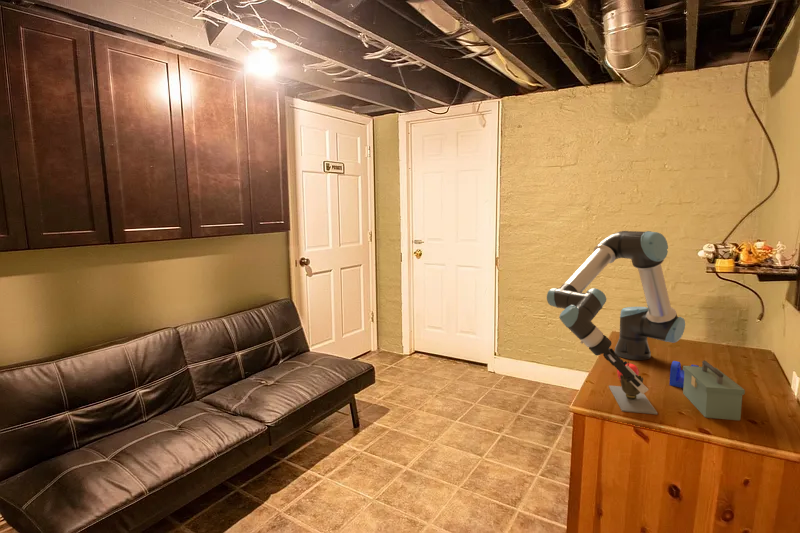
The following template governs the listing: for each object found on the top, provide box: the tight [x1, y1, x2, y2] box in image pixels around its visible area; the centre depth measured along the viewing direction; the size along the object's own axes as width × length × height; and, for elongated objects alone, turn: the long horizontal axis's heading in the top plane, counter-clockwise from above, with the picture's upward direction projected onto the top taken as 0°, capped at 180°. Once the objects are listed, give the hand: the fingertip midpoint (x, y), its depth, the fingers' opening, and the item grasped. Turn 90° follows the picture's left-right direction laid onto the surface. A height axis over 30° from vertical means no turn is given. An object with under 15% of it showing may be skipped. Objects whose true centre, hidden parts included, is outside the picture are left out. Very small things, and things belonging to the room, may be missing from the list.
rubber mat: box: [608, 385, 659, 415], centre depth 161 cm, size 22×11×1 cm, turn 166°
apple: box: [616, 361, 640, 381], centre depth 178 cm, size 8×8×8 cm
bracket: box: [669, 360, 700, 389], centre depth 176 cm, size 18×8×9 cm, turn 136°
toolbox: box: [682, 360, 746, 421], centre depth 153 cm, size 21×11×14 cm, turn 166°
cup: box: [620, 374, 644, 399], centre depth 160 cm, size 8×7×8 cm
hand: (641, 385), depth 159 cm, fingers open, 10 cm apart
